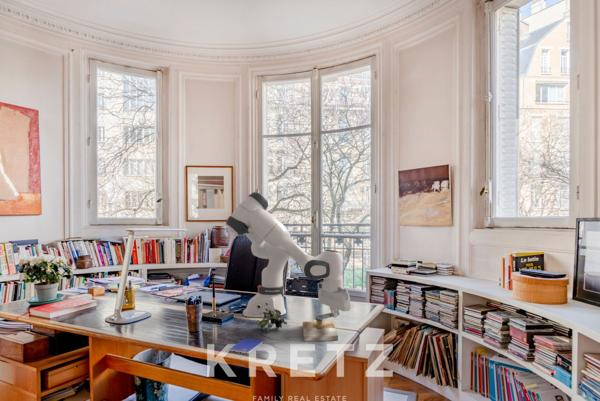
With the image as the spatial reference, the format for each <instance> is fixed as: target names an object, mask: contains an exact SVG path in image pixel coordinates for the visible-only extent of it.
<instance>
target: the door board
mask: <svg viewBox="0 0 600 401" xmlns="http://www.w3.org/2000/svg"><path fill="white" fill-rule="evenodd" d="M302 331H303V341H304V342H321V341H322V342H323V341H324V342H325V341H327V342H329V341H332V342H333V341H339V334H338V332H337V329H336V327H335V324H334V321H332V320H327V321H325V320H321V321H318V320H316V319H313V320H312V321H302Z"/></svg>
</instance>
